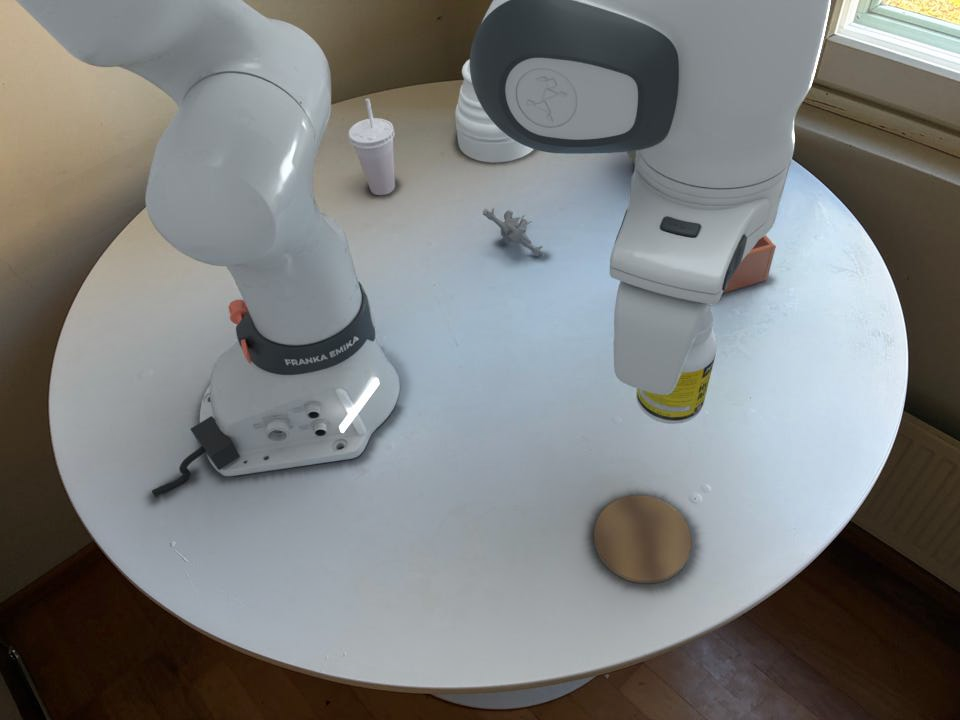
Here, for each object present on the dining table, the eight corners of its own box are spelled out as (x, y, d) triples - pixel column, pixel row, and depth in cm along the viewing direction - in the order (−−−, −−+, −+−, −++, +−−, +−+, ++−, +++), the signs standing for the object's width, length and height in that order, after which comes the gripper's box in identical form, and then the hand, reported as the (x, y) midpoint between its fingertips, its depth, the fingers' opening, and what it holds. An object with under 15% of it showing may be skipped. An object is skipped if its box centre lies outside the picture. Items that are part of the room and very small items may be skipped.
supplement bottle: (703, 430, 60) (724, 345, 53) (633, 422, 61) (644, 338, 54) (704, 378, 64) (723, 292, 56) (637, 371, 65) (648, 286, 57)
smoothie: (412, 181, 114) (397, 95, 104) (386, 205, 111) (368, 118, 100) (378, 170, 117) (361, 85, 106) (352, 193, 113) (331, 107, 103)
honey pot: (546, 119, 123) (544, 6, 109) (531, 165, 115) (528, 48, 101) (468, 114, 125) (458, 3, 112) (448, 159, 117) (434, 45, 104)
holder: (710, 297, 93) (716, 263, 89) (679, 258, 98) (684, 224, 94) (766, 280, 94) (776, 245, 90) (733, 242, 99) (741, 208, 95)
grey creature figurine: (554, 223, 105) (559, 245, 97) (526, 256, 107) (529, 280, 99) (497, 179, 102) (497, 197, 94) (470, 213, 105) (468, 234, 97)
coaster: (618, 597, 69) (618, 594, 68) (579, 514, 75) (579, 511, 74) (708, 565, 70) (709, 562, 70) (662, 486, 76) (663, 483, 76)
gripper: (703, 93, 54) (679, 245, 64) (598, 275, 42) (590, 425, 52) (795, 109, 52) (755, 264, 62) (712, 306, 40) (680, 456, 50)
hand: (679, 340), depth 57 cm, fingers closed on supplement bottle, 5 cm apart
